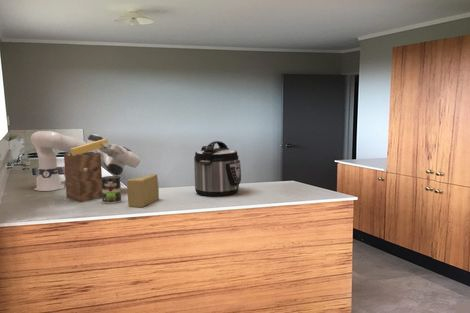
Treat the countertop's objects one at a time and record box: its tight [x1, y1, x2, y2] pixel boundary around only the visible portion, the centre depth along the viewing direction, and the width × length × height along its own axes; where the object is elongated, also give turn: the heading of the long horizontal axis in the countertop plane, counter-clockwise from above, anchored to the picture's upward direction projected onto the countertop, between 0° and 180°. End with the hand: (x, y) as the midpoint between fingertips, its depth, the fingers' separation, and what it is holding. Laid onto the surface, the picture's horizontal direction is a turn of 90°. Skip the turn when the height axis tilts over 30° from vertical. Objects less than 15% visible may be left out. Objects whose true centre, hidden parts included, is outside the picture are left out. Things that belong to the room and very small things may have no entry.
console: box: [63, 152, 103, 203], centre depth 260 cm, size 14×19×27 cm
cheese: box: [126, 173, 160, 208], centre depth 243 cm, size 22×10×15 cm, turn 157°
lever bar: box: [71, 138, 109, 156], centre depth 259 cm, size 22×4×4 cm, turn 137°
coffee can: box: [101, 175, 122, 204], centre depth 249 cm, size 10×10×14 cm
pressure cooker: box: [193, 140, 242, 197], centre depth 268 cm, size 30×28×32 cm
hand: (99, 142), depth 264 cm, fingers closed on lever bar, 4 cm apart
